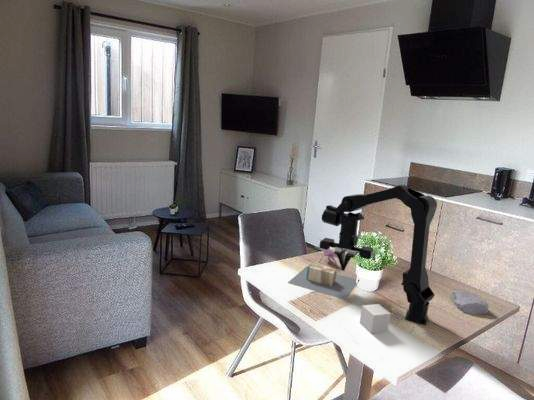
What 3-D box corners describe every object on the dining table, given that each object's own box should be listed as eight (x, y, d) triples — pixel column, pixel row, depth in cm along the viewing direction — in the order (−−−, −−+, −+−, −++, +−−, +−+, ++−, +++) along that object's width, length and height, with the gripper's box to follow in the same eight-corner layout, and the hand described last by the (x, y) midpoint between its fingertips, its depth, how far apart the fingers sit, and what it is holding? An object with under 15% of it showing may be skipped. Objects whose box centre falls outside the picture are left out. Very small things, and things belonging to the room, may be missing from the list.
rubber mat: (345, 300, 134) (345, 299, 134) (287, 283, 143) (287, 282, 143) (359, 280, 151) (359, 279, 151) (306, 267, 161) (306, 266, 161)
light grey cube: (359, 323, 120) (362, 305, 119) (375, 321, 122) (378, 303, 121) (370, 334, 114) (373, 315, 113) (387, 331, 117) (390, 313, 115)
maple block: (333, 273, 142) (307, 266, 147) (331, 286, 143) (306, 279, 148) (337, 269, 147) (312, 262, 151) (335, 281, 148) (310, 274, 152)
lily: (337, 272, 161) (347, 251, 162) (312, 259, 160) (322, 238, 161) (329, 269, 173) (338, 250, 174) (306, 257, 172) (315, 238, 173)
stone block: (461, 318, 133) (491, 315, 133) (461, 305, 132) (490, 302, 132) (445, 303, 145) (472, 299, 144) (445, 290, 144) (472, 287, 144)
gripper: (379, 229, 143) (373, 269, 146) (330, 220, 151) (326, 258, 154) (373, 236, 133) (366, 279, 136) (321, 226, 141) (316, 266, 144)
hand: (343, 270), depth 143 cm, fingers closed
